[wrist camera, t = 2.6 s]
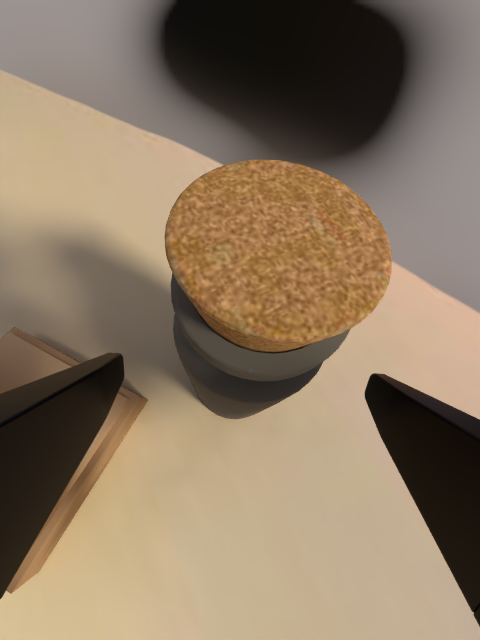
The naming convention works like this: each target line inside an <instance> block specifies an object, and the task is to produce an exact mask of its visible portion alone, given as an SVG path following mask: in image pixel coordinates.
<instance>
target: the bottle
mask: <svg viewBox="0 0 480 640" xmlns="http://www.w3.org/2000/svg"><path fill="white" fill-rule="evenodd" d="M165 249H166V256H167V259H168V262H169V265H170V268H171V270H172V280H171V298H172V304H173V308H174V312H175V315H174V326H173V330H174V340H175V345H176V348H177V351H178V354H179V357H180V359H181V361H182V364H183V366H184V368H185V370H186V372H187V374H188V376H189V378H190V380H191V382H192V384H193V386H194V388H195V390H196V392H197V394H198V396H199V397H200V399H201V400H202V402H203V403H204V404H205V406H206V407H207V408H208V409H210V410H211V411H212V412H214V413H215V414H217V415H219V416H222V417H225V418H230V419H240V418H245V417H249V416H251V415H254V414H256V413H258V412H260V411H262V410H264V409H266V408H269V407H271V406H273V405H275V404H277V403H279V402H280V401H282V400H284V399H286V398H287V397H289V396H291V395H293V394H294V393H296V392H298V391H299V390H301V389H302V388H303V387H304V386H305V385H306V384H308V383H309V382H310V380H311V379H312V378H313V377H314V376H315V375H316V374H317V372H318V371H319V369H320V367H321V365H322V363H323V361H325V360H326V359H327V358H329V357H330V356H331V355H332V354H333V353H334V352H335V351H336V350H337V349H338V348H339V347H340V345H341V344H342V342H343V341H344V340H345V338H346V337H347V335H348V333H349V331H350V329H351V328H352V327H354V326H355V325H357V324H358V323H360V322H361V321H362V320H363V319H365V318H366V317H367V316H368V315H369V314H370V313H371V312H372V311H373V310H374V309H375V307H376V306H377V305H378V303H379V302H380V300H381V299H382V297H383V296H384V293H385V291H386V289H387V286H388V284H389V280H390V275H391V249H390V245H389V241H388V237H387V235H386V233H385V231H384V229H383V226H382V224H381V223H380V221H379V220H378V218H377V217H376V215H375V214H374V212H373V211H372V209H371V208H370V207H369V206H368V204H367V203H365V201H364V200H363V199H362V198H361V197H360V196H359V195H358V194H356V193H355V192H354V191H352V190H351V189H350V188H348V187H347V186H346V185H344V184H343V183H341V182H340V181H338V180H336V179H334V178H332V177H330V176H329V175H326V174H325V173H323V172H321V171H318V170H315V169H313V168H310V167H307V166H304V165H301V164H296V163H291V162H285V161H280V160H247V161H241V162H235V163H232V164H227V165H224V166H222V167H219V168H217V169H214V170H212V171H210V172H208V173H206V174H204V175H202V176H201V177H199V178H198V179H196V180H195V181H194V182H193V183H191V184H190V185H189V186H188V187H187V188H186V189H185V190H184V191H183V192H182V193H181V194H180V196H179V197H178V199H177V200H176V202H175V204H174V206H173V207H172V209H171V211H170V215H169V218H168V221H167V224H166V230H165Z"/></svg>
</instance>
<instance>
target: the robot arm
mask: <svg viewBox="0 0 480 640" xmlns="http://www.w3.org/2000/svg"><path fill="white" fill-rule="evenodd" d="M123 380H124V363H123V356H122V354H119V353H107V354H105V355H102V356H99V357H97V358H94V359H91V360H89V361H86V362H83V363H81V364H78V365H75V366H73V367H70V368H67V369H65V370H62V371H59V372H57V373H54V374H51V375H49V376H46V377H43V378H41V379H38V380H35V381H33V382H30V383H27V384H25V385H22V386H19V387H17V388H14V389H12V390H9V391H6V392H4V393H1V394H0V599H1V598H2V597H3V595H4V593H5V591H6V590H7V588H8V586H9V585H10V583H11V581H12V579H13V578H14V576H15V574H16V573H17V571H18V569H19V567H20V566H21V564H22V562H23V561H24V559H25V557H26V555H27V554H28V552H29V550H30V549H31V547H32V545H33V543H34V542H35V540H36V538H37V537H38V535H39V533H40V532H41V530H42V528H43V526H44V525H45V523H46V521H47V520H48V518H49V516H50V514H51V513H52V511H53V509H54V508H55V506H56V504H57V502H58V501H59V499H60V497H61V496H62V494H63V492H64V490H65V489H66V487H67V485H68V484H69V482H70V480H71V478H72V477H73V475H74V473H75V472H76V470H77V468H78V466H79V465H80V463H81V461H82V460H83V458H84V456H85V455H86V453H87V451H88V449H89V448H90V446H91V444H92V443H93V441H94V439H95V437H96V436H97V434H98V432H99V431H100V429H101V427H102V425H103V424H104V422H105V420H106V418H107V416H108V414H109V412H110V410H111V407H112V405H113V403H114V401H115V398H116V396H117V394H118V391H119V389H120V387H121V385H122V382H123ZM365 399H366V402H367V404H368V407H369V409H370V412H371V414H372V417H373V419H374V422H375V424H376V427H377V429H378V431H379V434H380V436H381V438H382V440H383V442H384V444H385V446H386V448H387V450H388V452H389V454H390V456H391V457H392V459H393V461H394V463H395V465H396V467H397V469H398V471H399V473H400V475H401V477H402V478H403V480H404V482H405V484H406V486H407V488H408V490H409V492H410V494H411V496H412V498H413V500H414V501H415V503H416V505H417V507H418V509H419V511H420V513H421V515H422V517H423V519H424V521H425V522H426V524H427V526H428V528H429V530H430V532H431V534H432V536H433V538H434V540H435V542H436V544H437V545H438V547H439V549H440V551H441V553H442V555H443V557H444V559H445V561H446V563H447V565H448V566H449V568H450V570H451V572H452V574H453V576H454V578H455V580H456V582H457V584H458V586H459V587H460V589H461V591H462V593H463V595H464V597H465V599H466V601H467V603H468V605H469V607H470V609H471V610H472V612H474V617H475V619H476V620H477V622H478V624H479V626H480V420H479V419H477V418H475V417H473V416H471V415H469V414H467V413H465V412H463V411H460V410H458V409H456V408H454V407H452V406H450V405H448V404H446V403H444V402H442V401H439V400H437V399H435V398H433V397H431V396H429V395H427V394H425V393H423V392H421V391H418V390H416V389H414V388H412V387H410V386H408V385H406V384H404V383H402V382H400V381H397V380H395V379H393V378H391V377H389V376H387V375H385V374H376V373H374V374H372V375H371V376H370V378H369V381H368V384H367V387H366V390H365Z"/></svg>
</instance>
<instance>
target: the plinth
mask: <svg viewBox="0 0 480 640" xmlns="http://www.w3.org/2000/svg"><path fill="white" fill-rule="evenodd" d="M78 364H81V363H79V362H78V361H76V360H74V359H72V358H70V357H69V356H67V355H65V354H63V353H61V352H60V351H58V350H56V349H54V348H52V347H51V346H49V345H47V344H45V343H43V342H42V341H40V340H38V339H36V338H34V337H33V336H31V335H29V334H27V333H25V332H23V331H21V330H19V329H17V328H15V327H14V328H13V329H12V330H11V331H10V332H8V333H7V334H6V335H5V336H4V337H3V338H2V339H1V340H0V394H1V393H4V392H6V391H9V390H12V389H14V388H17V387H19V386H22V385H25V384H27V383H30V382H33V381H35V380H38V379H41V378H43V377H46V376H49V375H51V374H54V373H57V372H59V371H62V370H65V369H67V368H70V367H73V366H75V365H78ZM147 401H148V400H146V399H144V398H143V397H141V396H139V395H137V394H135V393H134V392H132V391H130V390H128V389H126V388H125V387H123V386H121V387H120V389H119V391H118V394H117V396H116V398H115V401H114V403H113V405H112V407H111V410H110V412H109V414H108V416H107V418H106V420H105V422H104V424H103V425H102V427H101V429H100V431H99V432H98V434H97V436H96V437H95V439H94V441H93V443H92V444H91V446H90V448H89V449H88V451H87V453H86V455H85V456H84V458H83V460H82V461H81V463H80V465H79V466H78V468H77V470H76V472H75V473H74V475H73V477H72V478H71V480H70V482H69V484H68V485H67V487H66V489H65V490H64V492H63V494H62V496H61V497H60V499H59V501H58V502H57V504H56V506H55V508H54V509H53V511H52V513H51V514H50V516H49V518H48V520H47V521H46V523H45V525H44V526H43V528H42V530H41V532H40V533H39V535H38V537H37V538H36V540H35V542H34V543H33V545H32V547H31V549H30V550H29V552H28V554H27V555H26V557H25V559H24V561H23V562H22V564H21V566H20V567H19V569H18V571H17V573H16V574H15V576H14V578H13V579H12V581H11V583H10V585H9V586H8V588H7V590H6V591H8V592H9V593H13V592H14V591H15V590H16V589H18V588H19V587H20V586H21V585H23V584H24V583H25V582H27V581H28V580H29V579H30V578H32V577H33V576H34V575H36V574H37V573H38V572H39V571H40V569H41V568H42V566H43V564H44V563H45V561H46V560H47V558H48V556H49V555H50V553H51V552H52V550H53V549H54V547H55V545H56V544H57V542H58V541H59V539H60V538H61V536H62V534H63V533H64V531H65V530H66V528H67V527H68V525H69V523H70V522H71V520H72V519H73V517H74V516H75V514H76V512H77V511H78V509H79V508H80V506H81V504H82V503H83V501H84V500H85V498H86V497H87V495H88V493H89V492H90V490H91V489H92V487H93V486H94V484H95V482H96V481H97V479H98V478H99V476H100V475H101V473H102V471H103V470H104V468H105V467H106V465H107V464H108V462H109V460H110V459H111V457H112V456H113V454H114V453H115V451H116V449H117V448H118V446H119V445H120V443H121V441H122V440H123V438H124V437H125V435H126V434H127V432H128V430H129V429H130V427H131V426H132V424H133V423H134V421H135V419H136V418H137V416H138V415H139V413H140V412H141V410H142V408H143V407H144V405H145V404H146V402H147Z"/></svg>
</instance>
